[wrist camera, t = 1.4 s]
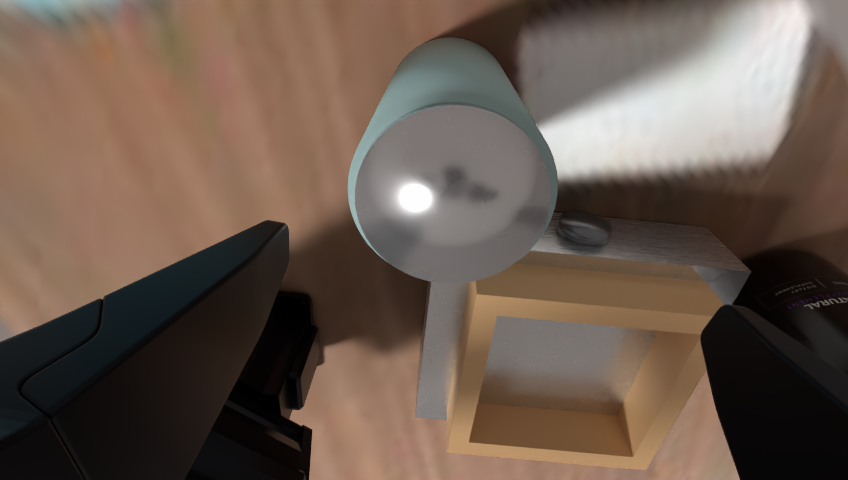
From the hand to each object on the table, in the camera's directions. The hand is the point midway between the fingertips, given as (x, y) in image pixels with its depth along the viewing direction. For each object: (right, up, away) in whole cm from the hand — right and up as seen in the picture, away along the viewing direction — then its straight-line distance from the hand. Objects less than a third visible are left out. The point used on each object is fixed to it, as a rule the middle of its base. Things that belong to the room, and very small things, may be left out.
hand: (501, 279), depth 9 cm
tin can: (0, +7, +11) cm, 13 cm away
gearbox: (+6, -3, +17) cm, 18 cm away
